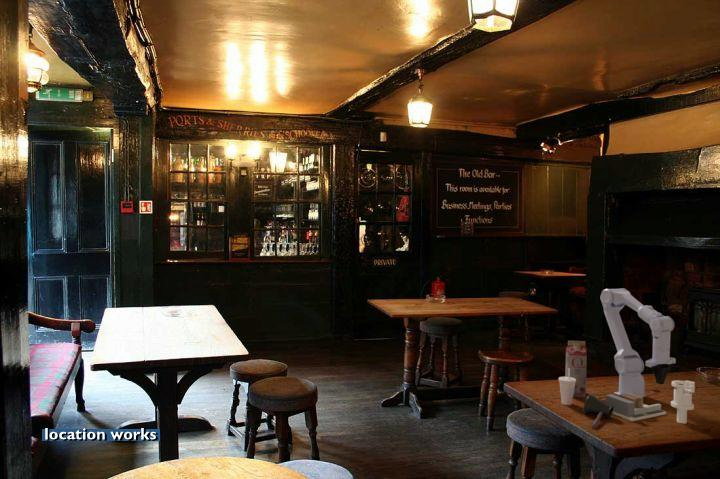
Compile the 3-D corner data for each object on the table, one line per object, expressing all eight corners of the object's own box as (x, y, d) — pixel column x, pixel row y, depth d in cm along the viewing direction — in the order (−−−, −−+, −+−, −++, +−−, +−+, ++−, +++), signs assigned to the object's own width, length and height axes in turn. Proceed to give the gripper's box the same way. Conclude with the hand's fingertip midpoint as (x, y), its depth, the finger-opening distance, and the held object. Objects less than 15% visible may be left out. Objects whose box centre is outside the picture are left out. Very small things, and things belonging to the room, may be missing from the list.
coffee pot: (589, 409, 205) (612, 418, 199) (570, 428, 192) (595, 438, 186) (592, 390, 203) (615, 399, 198) (573, 409, 190) (598, 418, 184)
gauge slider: (628, 405, 206) (628, 392, 206) (650, 413, 198) (651, 400, 198) (619, 407, 204) (619, 394, 204) (641, 415, 196) (641, 402, 196)
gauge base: (634, 403, 213) (635, 388, 213) (665, 414, 201) (666, 398, 201) (601, 409, 205) (602, 393, 205) (632, 421, 193) (632, 404, 193)
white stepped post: (690, 427, 189) (692, 384, 188) (667, 421, 193) (669, 380, 193) (695, 421, 194) (696, 380, 193) (673, 416, 199) (674, 376, 198)
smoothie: (576, 406, 208) (577, 370, 207) (559, 405, 209) (560, 369, 209) (573, 401, 214) (574, 366, 214) (556, 400, 215) (557, 365, 215)
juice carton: (585, 397, 219) (587, 343, 218) (568, 396, 220) (569, 342, 220) (581, 392, 226) (583, 339, 225) (564, 391, 227) (566, 338, 226)
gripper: (658, 352, 200) (656, 388, 201) (683, 348, 206) (682, 384, 207) (641, 348, 207) (639, 383, 207) (666, 344, 213) (665, 379, 213)
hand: (660, 383), depth 207 cm, fingers closed
